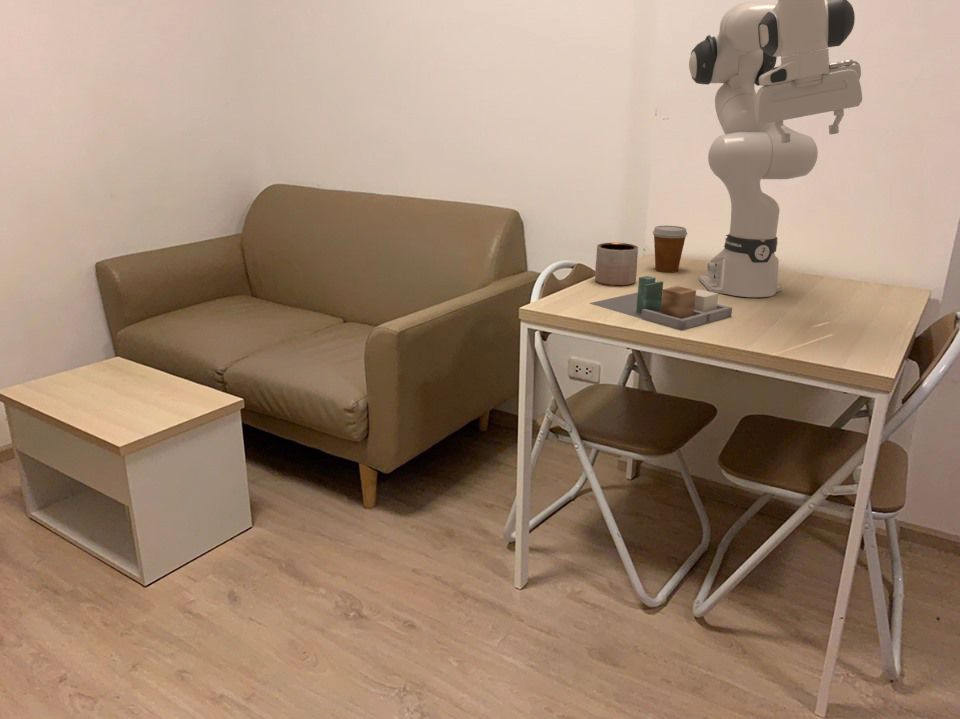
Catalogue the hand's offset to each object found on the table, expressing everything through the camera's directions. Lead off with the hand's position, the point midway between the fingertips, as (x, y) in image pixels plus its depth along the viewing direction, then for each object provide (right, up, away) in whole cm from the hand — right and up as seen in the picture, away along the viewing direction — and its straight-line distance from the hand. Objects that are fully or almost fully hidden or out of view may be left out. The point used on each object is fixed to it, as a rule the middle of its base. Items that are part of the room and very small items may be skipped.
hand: (809, 138), depth 159 cm
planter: (-32, -25, +46) cm, 61 cm away
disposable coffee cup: (-15, -21, +59) cm, 65 cm away
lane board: (-27, -35, +18) cm, 48 cm away
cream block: (-19, -36, +14) cm, 43 cm away
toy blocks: (-28, -36, +12) cm, 47 cm away
